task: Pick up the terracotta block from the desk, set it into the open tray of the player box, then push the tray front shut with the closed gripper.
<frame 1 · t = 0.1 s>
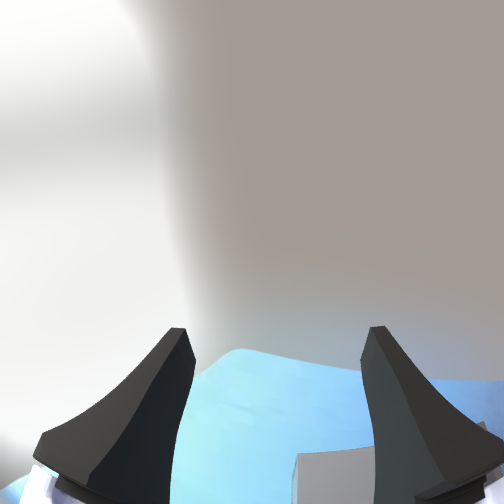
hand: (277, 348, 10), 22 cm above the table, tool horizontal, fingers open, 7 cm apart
tray: (441, 496, 12), point 3 cm above the table, slide at 7.0 cm
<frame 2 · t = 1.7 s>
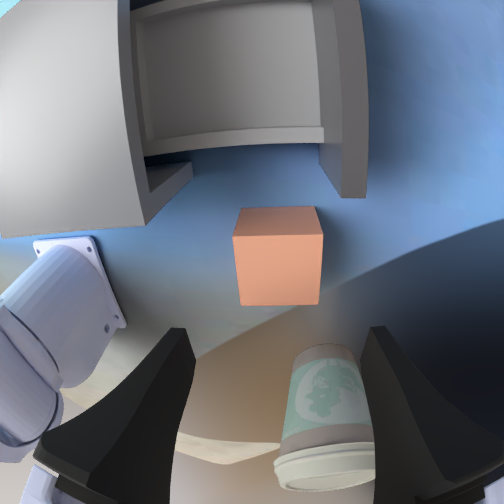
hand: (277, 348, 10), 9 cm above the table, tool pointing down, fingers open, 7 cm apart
tray: (221, 57, 10), point 3 cm above the table, slide at 7.0 cm
coffee cup: (323, 361, 24), on the table
terracotta block: (279, 238, 18), on the table
player housing: (103, 94, 14), on the table
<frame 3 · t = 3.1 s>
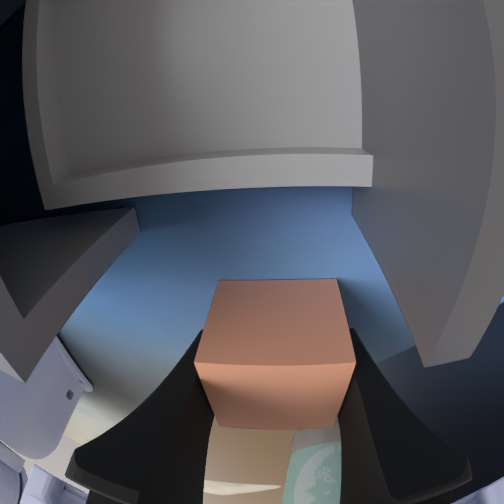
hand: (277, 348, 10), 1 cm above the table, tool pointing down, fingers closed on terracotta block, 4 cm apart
tray: (152, 8, 4), point 3 cm above the table, slide at 7.0 cm
coffee cup: (329, 432, 18), on the table
terracotta block: (278, 322, 12), on the table, touching gripper
player housing: (17, 106, 7), on the table
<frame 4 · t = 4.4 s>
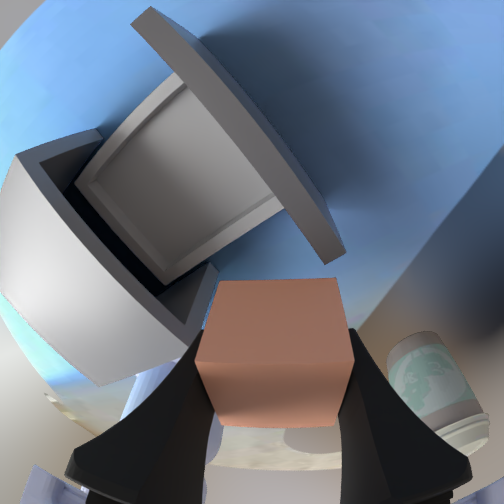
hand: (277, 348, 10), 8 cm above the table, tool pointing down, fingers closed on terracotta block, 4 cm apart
tray: (168, 187, 13), point 3 cm above the table, slide at 7.0 cm
coffee cup: (412, 350, 22), on the table
terracotta block: (279, 322, 12), point 7 cm above the table, touching gripper
player housing: (109, 243, 19), on the table
when the fingers open (4 cm above the table, at t = 6.2 s): terracotta block stays where it is, resting on tray.
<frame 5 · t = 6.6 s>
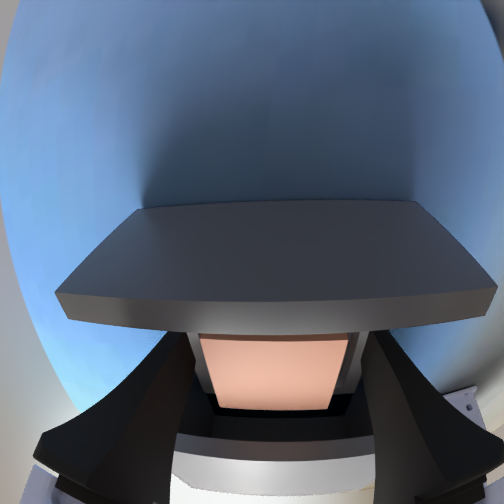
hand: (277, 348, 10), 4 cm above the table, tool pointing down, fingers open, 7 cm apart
tray: (278, 355, 11), point 3 cm above the table, slide at 7.0 cm, touching terracotta block
terracotta block: (276, 308, 13), point 1 cm above the table, touching tray
player housing: (279, 392, 18), on the table
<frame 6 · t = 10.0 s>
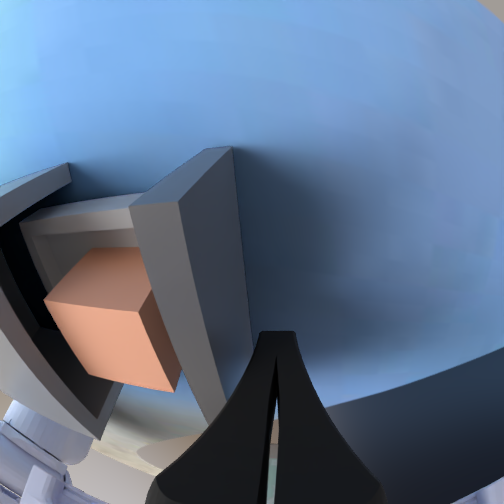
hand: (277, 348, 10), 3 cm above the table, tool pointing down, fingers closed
tray: (112, 320, 11), point 3 cm above the table, slide at 6.6 cm, touching gripper, terracotta block
coffee cup: (274, 449, 25), on the table
terracotta block: (143, 288, 13), point 1 cm above the table, touching tray
player housing: (42, 274, 15), on the table
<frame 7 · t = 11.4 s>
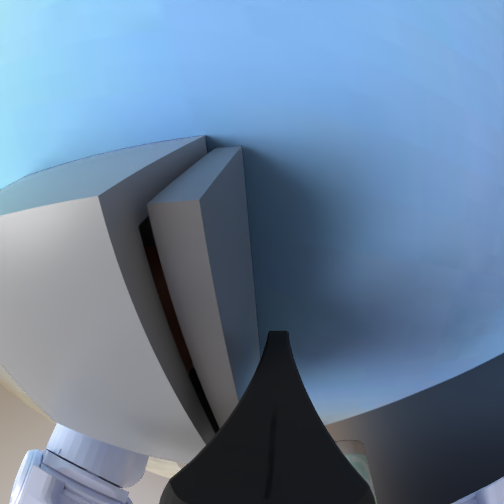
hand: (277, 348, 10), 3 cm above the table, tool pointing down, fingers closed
tray: (119, 320, 11), point 3 cm above the table, slide at -0.1 cm, touching gripper, terracotta block
coffee cup: (337, 447, 24), on the table
terracotta block: (150, 288, 13), point 1 cm above the table, touching tray
player housing: (124, 276, 14), on the table
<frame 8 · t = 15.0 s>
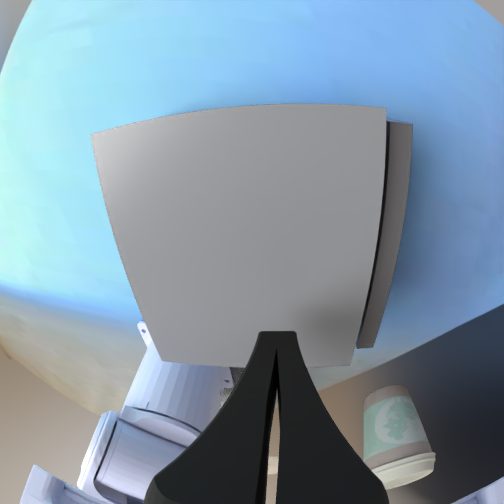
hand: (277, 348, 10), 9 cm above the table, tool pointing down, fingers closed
tray: (277, 231, 15), point 3 cm above the table, slide at 0.0 cm, touching terracotta block
coffee cup: (384, 395, 28), on the table
player housing: (254, 209, 18), on the table
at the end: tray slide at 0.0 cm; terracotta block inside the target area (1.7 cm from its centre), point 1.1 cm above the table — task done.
